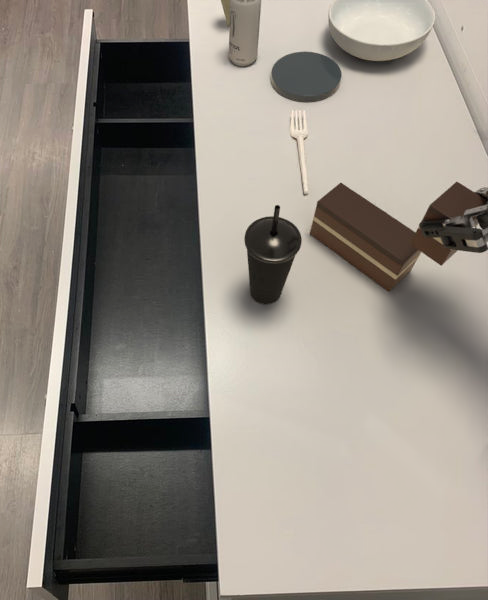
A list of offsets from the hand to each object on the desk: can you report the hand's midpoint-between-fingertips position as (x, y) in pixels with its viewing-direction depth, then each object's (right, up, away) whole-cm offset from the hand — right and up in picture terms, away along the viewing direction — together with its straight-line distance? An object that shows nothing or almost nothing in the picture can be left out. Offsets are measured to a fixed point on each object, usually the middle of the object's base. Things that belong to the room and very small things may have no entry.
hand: (437, 215), depth 69 cm
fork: (-12, +16, +29) cm, 35 cm away
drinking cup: (-20, -10, +14) cm, 27 cm away
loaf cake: (-5, -3, +17) cm, 18 cm away
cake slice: (+1, -3, +3) cm, 5 cm away
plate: (-9, +34, +39) cm, 53 cm away
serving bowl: (+7, +44, +44) cm, 63 cm away
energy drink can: (-21, +40, +44) cm, 63 cm away
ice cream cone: (-23, +50, +50) cm, 75 cm away
